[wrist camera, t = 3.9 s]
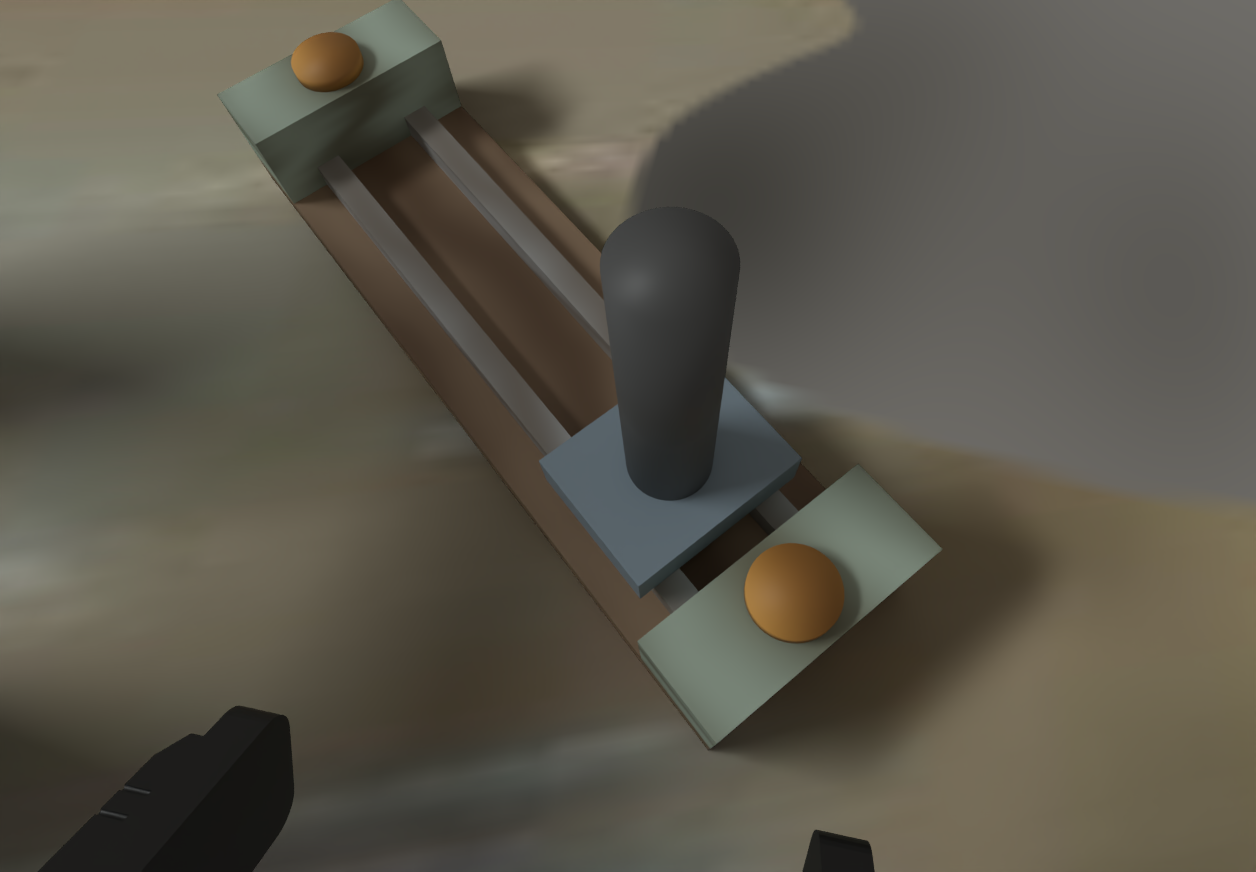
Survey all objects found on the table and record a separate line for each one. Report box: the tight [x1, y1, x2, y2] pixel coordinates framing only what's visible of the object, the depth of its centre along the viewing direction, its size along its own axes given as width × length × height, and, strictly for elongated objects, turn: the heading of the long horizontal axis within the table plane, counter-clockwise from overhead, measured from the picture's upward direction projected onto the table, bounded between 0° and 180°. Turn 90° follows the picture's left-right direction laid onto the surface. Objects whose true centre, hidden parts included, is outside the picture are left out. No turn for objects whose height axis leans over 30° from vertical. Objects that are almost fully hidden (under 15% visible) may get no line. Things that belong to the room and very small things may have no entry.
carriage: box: [539, 207, 802, 599], centre depth 24 cm, size 8×6×14 cm
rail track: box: [217, 0, 942, 750], centre depth 34 cm, size 10×36×6 cm, turn 38°
